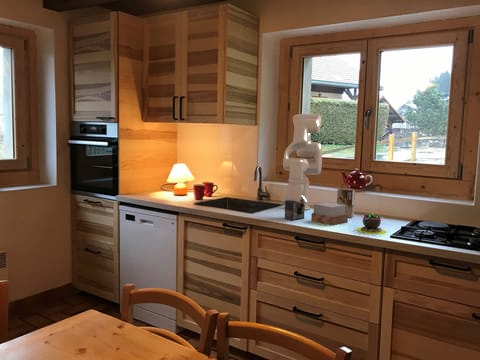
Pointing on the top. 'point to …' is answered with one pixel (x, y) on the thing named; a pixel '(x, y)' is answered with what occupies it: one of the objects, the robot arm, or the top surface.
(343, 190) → the coffee box
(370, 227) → the toy cauldron
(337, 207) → the tower top
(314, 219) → the tower base
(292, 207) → the small box
